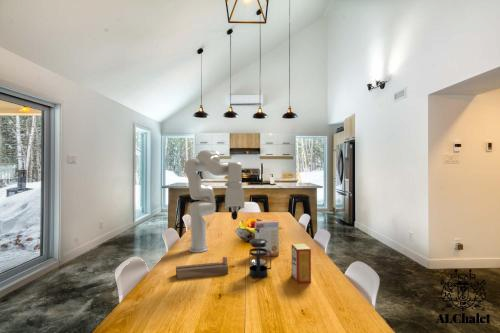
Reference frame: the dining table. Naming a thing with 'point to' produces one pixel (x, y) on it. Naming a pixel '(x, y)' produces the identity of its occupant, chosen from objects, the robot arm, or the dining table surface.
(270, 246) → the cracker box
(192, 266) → the tongs jaw
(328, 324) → the dining table surface
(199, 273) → the tongs fixed jaw
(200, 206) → the robot arm
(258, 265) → the french press
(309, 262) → the baking soda box
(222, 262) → the tab
